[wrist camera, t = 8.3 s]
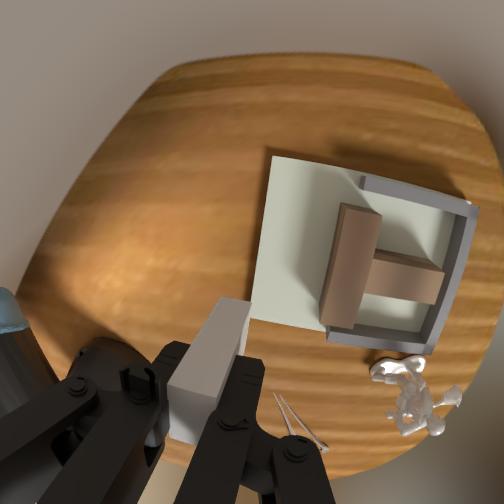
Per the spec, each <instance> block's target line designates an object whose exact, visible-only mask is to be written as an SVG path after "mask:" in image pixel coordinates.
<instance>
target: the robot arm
mask: <svg viewBox="0 0 504 504" xmlns="http://www.w3.org/2000/svg"><path fill="white" fill-rule="evenodd" d="M251 308H252V302H248V301H243V300H238V299H233V298H228V297H223V296H221V297H220V299H219V300H218V302H217V304H216V305H215V307H214V308H213V310H212V312H211V313H210V315H209V316H208V318H207V320H206V321H205V323H204V325H203V326H202V328H201V329H200V331H199V333H198V334H197V336H196V338H195V339H194V341H193V342H192V344H191V345H190V344H186V343H182V342H178V341H173V342H171V343H169V344H167V345H166V346H164V348H163V349H162V350H161V352H160V353H159V355H158V356H157V357H156V358H155V361H153V363H152V364H150V363H149V362H148V361H147V360H146V359H145V358H144V357H142V356H141V355H140V354H139V353H137V352H136V351H135V350H133V349H132V348H130V347H128V346H127V345H125V344H123V343H121V342H118V341H116V340H113V339H109V338H95V339H92V340H90V341H89V342H88V343H86V344H85V345H84V346H83V347H82V348H81V349H80V350H79V351H78V353H77V354H76V356H75V359H74V361H73V363H72V365H71V367H70V369H69V371H68V374H67V376H66V378H65V379H64V380H62V381H60V380H59V379H58V377H57V375H56V374H55V372H54V370H53V369H52V367H51V365H50V364H49V362H48V360H47V358H46V357H45V355H44V353H43V351H42V349H41V348H40V346H39V344H38V342H37V340H36V338H35V336H34V334H33V332H32V330H31V328H30V324H29V321H28V320H26V319H25V317H24V315H23V313H22V311H21V309H20V307H19V305H18V303H17V301H16V299H15V297H14V295H13V294H12V293H11V292H10V291H9V290H8V289H6V288H3V287H0V504H35V503H36V502H37V503H36V504H137V503H138V501H139V499H140V497H141V495H142V493H143V490H144V489H145V486H146V485H147V483H148V481H149V479H150V477H151V474H152V473H153V471H154V468H155V466H156V464H157V462H158V460H159V458H160V456H161V454H162V452H163V450H164V447H165V437H166V435H167V433H168V431H169V434H170V438H172V439H176V440H179V441H182V442H185V443H189V444H192V445H196V446H197V447H196V449H195V452H194V454H193V457H192V459H191V462H190V464H189V467H188V469H187V472H186V474H185V477H184V479H183V482H182V484H181V486H180V489H179V491H178V494H177V496H176V498H175V501H174V503H173V504H235V501H236V497H237V493H238V489H239V485H240V484H241V485H243V486H245V487H247V488H249V489H251V490H253V491H256V492H258V497H259V504H336V503H335V500H334V496H333V493H332V490H331V487H330V484H329V480H328V477H327V474H326V470H325V467H324V464H323V461H322V458H321V454H320V451H319V449H318V447H317V446H316V444H315V443H314V442H313V441H311V440H310V439H308V438H306V437H303V436H299V435H289V436H284V437H282V438H281V439H279V438H277V437H275V436H272V435H270V434H268V433H267V432H265V431H264V430H263V429H261V428H260V426H259V425H258V423H257V421H256V410H257V406H258V401H259V396H260V392H261V387H262V382H263V377H264V372H265V367H264V365H263V362H262V360H261V359H256V358H251V357H246V356H243V354H244V351H245V345H246V339H247V333H248V327H249V320H250V314H251Z"/></svg>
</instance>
